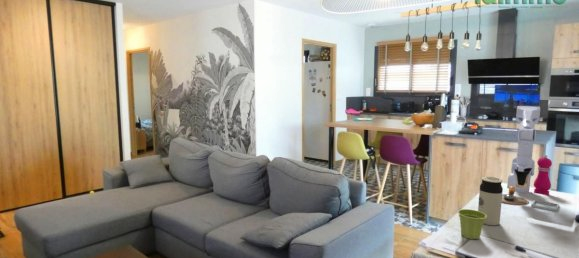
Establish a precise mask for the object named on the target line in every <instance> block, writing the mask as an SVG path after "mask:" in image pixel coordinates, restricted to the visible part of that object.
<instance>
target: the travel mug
mask: <svg viewBox="0 0 579 258" xmlns="http://www.w3.org/2000/svg"><path fill="white" fill-rule="evenodd" d="M480 179H481V183H480V185H479V192H478V194H479V195H478V206H477V211H479V212H482V213H484V214H486V215H487V218H485V221H484V223H483V225H486V226H498V225H500V223H501V215H502V214H501V213H502V204H503V203H502V194H503V192H504V191H503V190H504V189H503V188H504V187H503V186H502V183H503V182H504V180H503V178H499V177H495V176H482V177H480Z"/></svg>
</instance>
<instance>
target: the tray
mask: <svg viewBox="0 0 579 258" xmlns="http://www.w3.org/2000/svg"><path fill="white" fill-rule="evenodd" d="M535 203H538V204H544V205H549V206H554V207H555V208H553V207H549V206H548V207H547V206H544V205H543V206H542V205H537V204H535ZM530 205H531V206H530V207H531V208H535V209H539V210H544V211H545V210H546V211H551V212H555V213H557V212H558V209H559V207H560V204H559V203H557V202H551V201H545V200H539V199H534V200H533V201H532V203H531V204H530Z"/></svg>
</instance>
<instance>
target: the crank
mask: <svg viewBox="0 0 579 258" xmlns="http://www.w3.org/2000/svg"><path fill="white" fill-rule="evenodd" d="M515 193H516V192H515V187H513V186H509V189H508V194H507V193H506V194H505V195H504V199H506V200H514V196H515Z"/></svg>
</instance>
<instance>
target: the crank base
mask: <svg viewBox="0 0 579 258" xmlns="http://www.w3.org/2000/svg"><path fill="white" fill-rule="evenodd" d="M504 195H505V194H504V193H502V203H501V204H504V205H509V206H519V207H520V206H527V205H529V204H530V202H529V200H528V199H525V198H522V197H520V196H517V195H514V200H506V199H504Z"/></svg>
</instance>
